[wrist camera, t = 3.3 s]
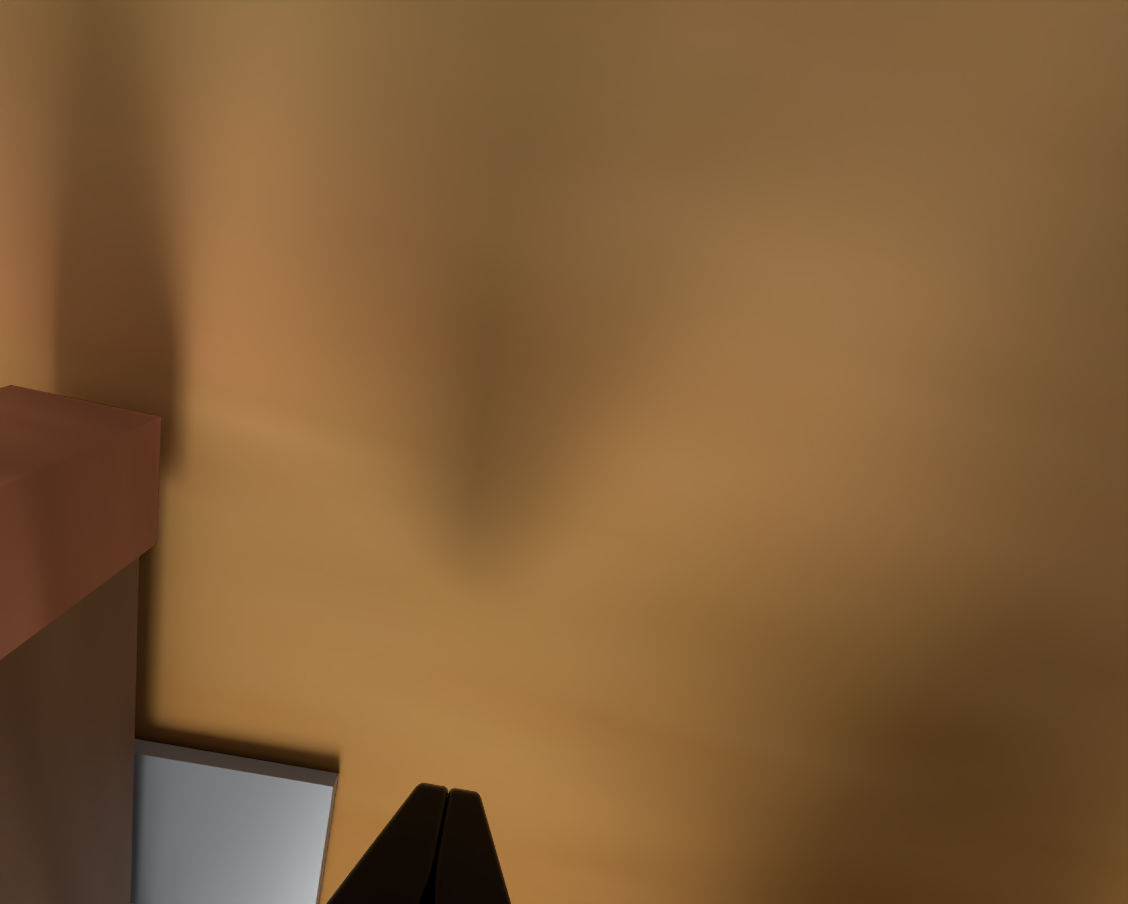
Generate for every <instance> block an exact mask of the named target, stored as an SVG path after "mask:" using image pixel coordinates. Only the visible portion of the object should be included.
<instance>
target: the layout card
mask: <svg viewBox="0 0 1128 904" xmlns="http://www.w3.org/2000/svg"><path fill="white" fill-rule="evenodd" d="M338 775H339V774H338V773H332V772H327V771H321V770H315V769H309V768H303V767H297V766H291V765H285V764H280V763H274V762H268V761H262V760H256V759H250V758H244V757H238V756H233V755H227V754H221V753H215V752H209V751H203V750H197V749H191V748H186V747H180V746H174V745H168V744H162V743H156V742H150V741H144V740H139V739H135V741H134V781H133V820H132V860H131V900H130V904H319V900H320V893H321V886H322V880H323V873H324V867H325V860H326V854H327V847H328V840H329V834H330V827H331V821H332V814H333V808H334V801H335V795H336V788H337V781H338Z"/></svg>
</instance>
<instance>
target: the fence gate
mask: <svg viewBox="0 0 1128 904" xmlns="http://www.w3.org/2000/svg"><path fill="white" fill-rule="evenodd" d="M160 437H161V417H160V416H156V415H151V414H146V413H141V412H137V411H132V410H127V409H122V408H118V407H113V406H108V405H103V404H99V403H94V402H89V401H84V400H80V399H75V398H70V397H65V396H61V395H56V394H51V393H46V392H42V391H37V390H32V389H27V388H23V387H18V386H13V385H10V386H6V387H2V388H0V904H130V900H131V860H132V820H133V781H134V741H135V702H136V662H137V622H138V583H139V556H140V555H142V554H143V553H144V552H146V551H147V550H149V549H150V548H151V547H153V546H154V545H155V544H157V524H158V495H159V466H160Z"/></svg>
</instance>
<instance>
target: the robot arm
mask: <svg viewBox="0 0 1128 904" xmlns="http://www.w3.org/2000/svg"><path fill="white" fill-rule="evenodd" d="M327 904H511V902H510V898H509V895H508V891H507V888H506V884H505V881H504V877H503V874H502V870H501V867H500V863H499V860H498V856H497V853H496V849H495V845H494V842H493V838H492V835H491V831H490V828H489V824H488V821H487V817H486V814H485V810H484V807H483V803H482V800H481V797H480V795H479V794H478V793H477V792H474V791H469V790H463V789H457V788H453V789H451V790H450V791H449V793H448V789H447V788H446V787H444V786H439V785H433V784H427V783H421V784H419V785H418V786H416V788H415V789H414V790H413V791H412V793H411V794H410V795H409V797H408V798H407V799H406V800H405V802H404V803H403V804H402V806H401V807H400V808H399V810H398V811H397V812H396V814H395V815H394V816H393V817H392V819H391V820H390V821H389V823H388V824H387V825H386V827H385V828H384V829H383V831H382V832H381V833H380V834H379V836H378V837H377V838H376V840H375V841H374V842H373V844H372V845H371V846H370V847H369V849H368V850H367V851H366V853H365V854H364V855H363V857H362V858H361V859H360V861H359V862H358V863H357V864H356V866H355V867H354V868H353V870H352V871H351V872H350V874H349V875H348V876H347V877H346V879H345V880H344V881H343V883H342V884H341V885H340V887H339V888H338V889H337V891H336V892H335V893H334V894H333V896H332V897H331V898H330V900H329V901H328V902H327Z"/></svg>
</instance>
